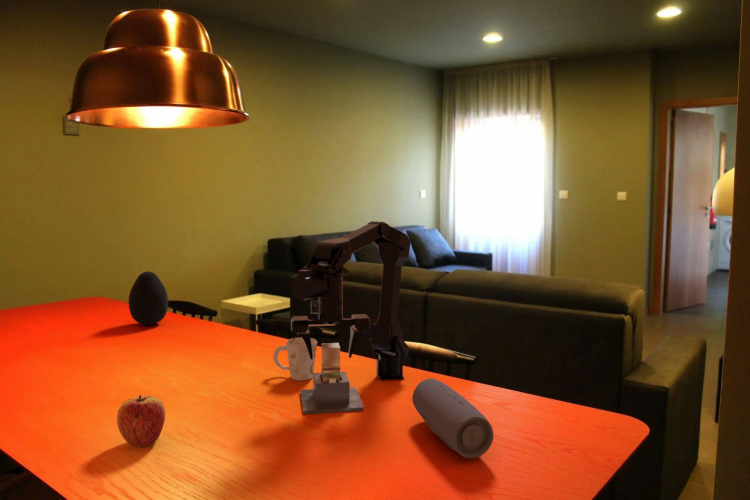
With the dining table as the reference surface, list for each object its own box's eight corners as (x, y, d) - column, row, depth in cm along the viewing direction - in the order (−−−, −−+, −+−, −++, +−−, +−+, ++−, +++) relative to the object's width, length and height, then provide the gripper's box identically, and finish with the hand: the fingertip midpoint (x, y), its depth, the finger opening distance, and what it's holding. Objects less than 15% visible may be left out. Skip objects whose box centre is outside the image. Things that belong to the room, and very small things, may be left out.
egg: (159, 318, 228) (158, 267, 226) (174, 325, 218) (173, 271, 216) (123, 324, 219) (121, 271, 216) (137, 331, 209) (135, 275, 206)
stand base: (355, 389, 150) (355, 363, 150) (363, 410, 137) (364, 381, 136) (300, 392, 148) (300, 365, 147) (303, 414, 134) (303, 384, 134)
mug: (311, 383, 155) (311, 346, 154) (267, 379, 158) (266, 343, 157) (321, 373, 163) (320, 338, 162) (278, 370, 166) (277, 335, 165)
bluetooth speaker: (496, 461, 112) (497, 411, 111) (451, 468, 110) (452, 416, 108) (448, 416, 134) (449, 374, 133) (409, 421, 131) (410, 377, 130)
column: (338, 377, 144) (338, 342, 143) (340, 383, 140) (340, 347, 139) (321, 378, 144) (321, 343, 143) (322, 384, 139) (322, 348, 138)
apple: (118, 456, 113) (115, 406, 112) (117, 438, 121) (116, 391, 120) (167, 448, 117) (166, 400, 115) (164, 431, 125) (163, 385, 124)
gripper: (364, 287, 149) (363, 347, 151) (290, 289, 146) (290, 350, 147) (371, 295, 138) (371, 360, 140) (291, 297, 135) (292, 363, 137)
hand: (330, 358), depth 141 cm, fingers open, 9 cm apart
